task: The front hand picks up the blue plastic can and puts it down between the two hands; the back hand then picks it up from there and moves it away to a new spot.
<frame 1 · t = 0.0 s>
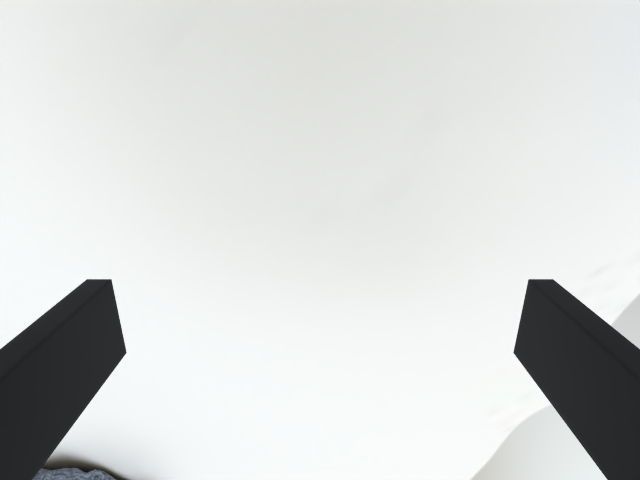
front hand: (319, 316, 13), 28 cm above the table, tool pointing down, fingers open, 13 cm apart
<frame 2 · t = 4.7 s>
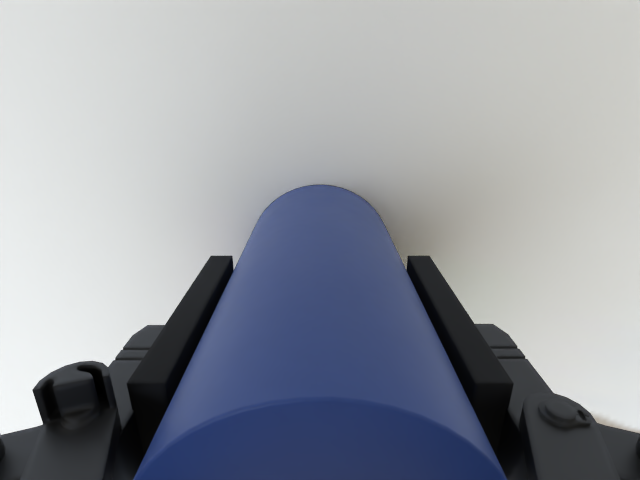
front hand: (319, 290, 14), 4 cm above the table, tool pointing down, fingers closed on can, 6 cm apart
can: (320, 252, 18), on the table, touching front hand
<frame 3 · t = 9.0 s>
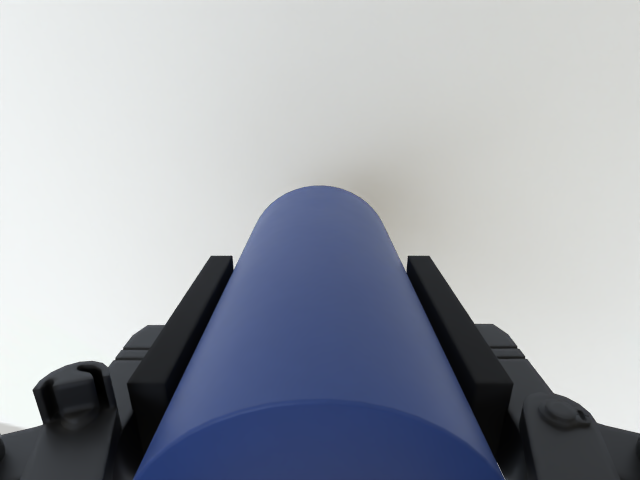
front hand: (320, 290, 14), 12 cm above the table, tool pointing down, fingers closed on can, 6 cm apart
can: (319, 253, 18), point 9 cm above the table, touching front hand
when the front hand's fingers open (5 cm above the table, at t = 13.4 s): can drops 2 cm, on the table.
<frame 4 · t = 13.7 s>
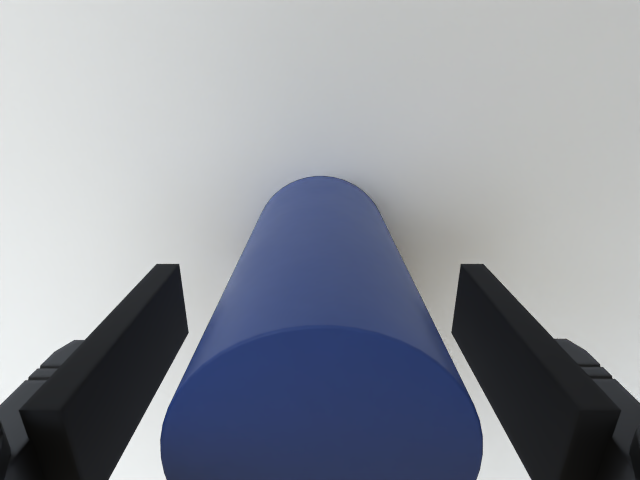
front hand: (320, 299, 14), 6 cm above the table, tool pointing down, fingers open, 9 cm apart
can: (320, 239, 19), on the table
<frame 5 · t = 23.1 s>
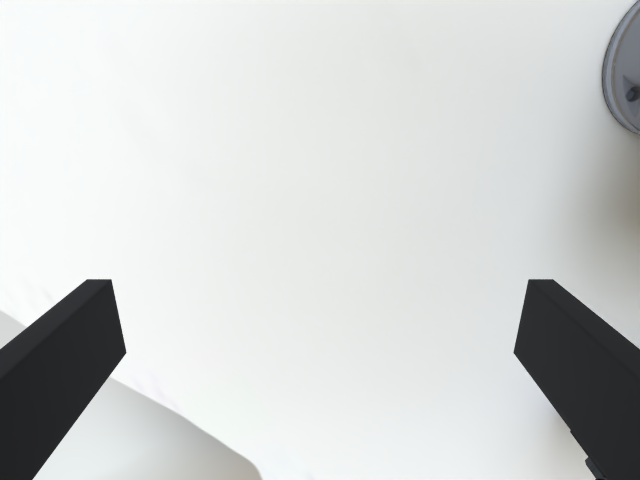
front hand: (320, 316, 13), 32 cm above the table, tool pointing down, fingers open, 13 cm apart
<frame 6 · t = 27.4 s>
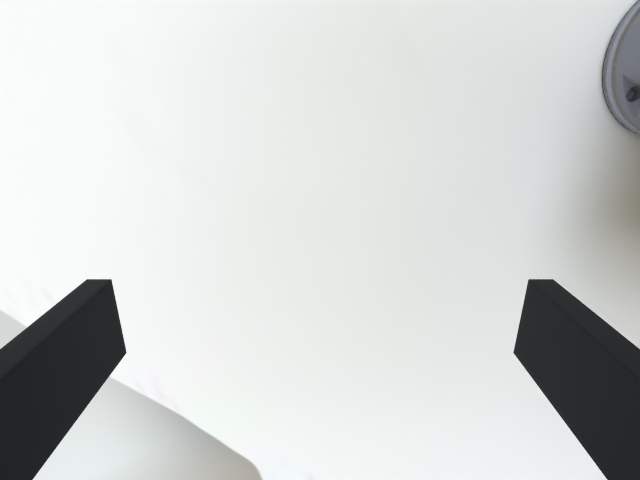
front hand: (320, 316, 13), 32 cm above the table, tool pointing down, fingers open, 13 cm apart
when the back hand's fingers open (5 cm above the table, at t = 31.6 s): can drops 2 cm, on the table.
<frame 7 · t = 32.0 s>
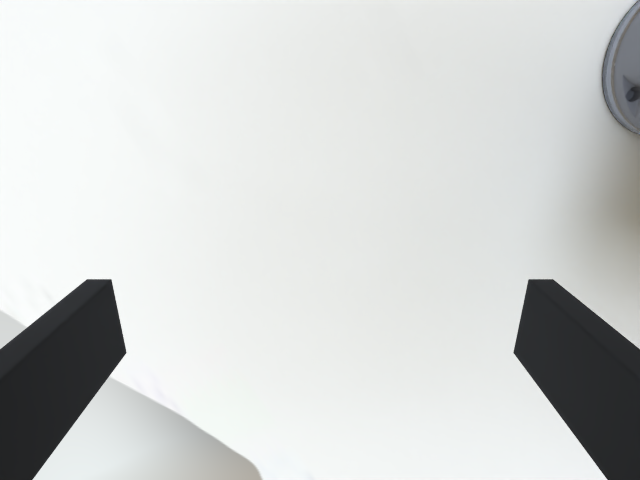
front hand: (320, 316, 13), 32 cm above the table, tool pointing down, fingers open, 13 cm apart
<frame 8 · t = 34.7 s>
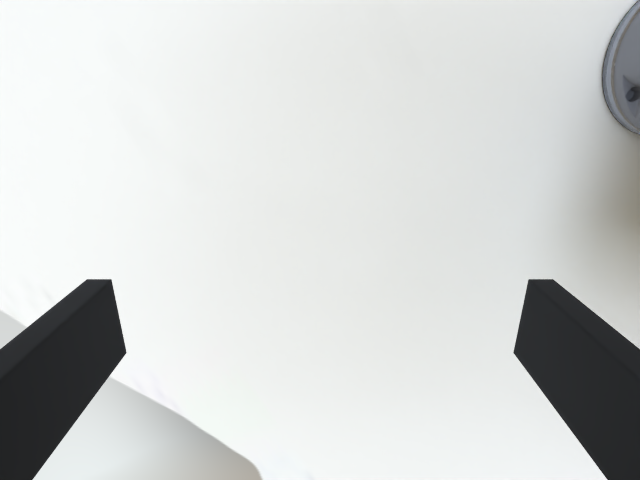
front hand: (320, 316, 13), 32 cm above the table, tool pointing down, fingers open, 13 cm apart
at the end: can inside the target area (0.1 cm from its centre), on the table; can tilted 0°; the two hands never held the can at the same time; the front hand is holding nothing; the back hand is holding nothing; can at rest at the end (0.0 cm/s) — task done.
